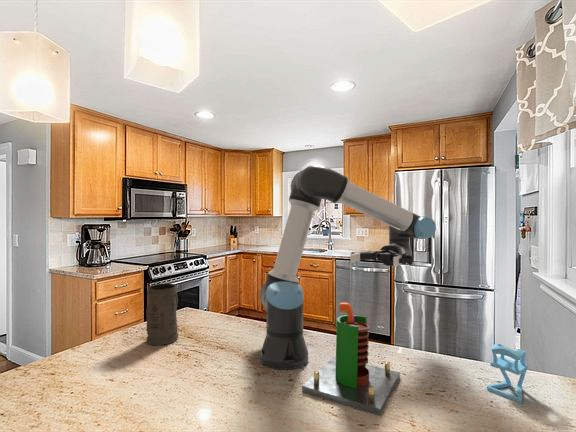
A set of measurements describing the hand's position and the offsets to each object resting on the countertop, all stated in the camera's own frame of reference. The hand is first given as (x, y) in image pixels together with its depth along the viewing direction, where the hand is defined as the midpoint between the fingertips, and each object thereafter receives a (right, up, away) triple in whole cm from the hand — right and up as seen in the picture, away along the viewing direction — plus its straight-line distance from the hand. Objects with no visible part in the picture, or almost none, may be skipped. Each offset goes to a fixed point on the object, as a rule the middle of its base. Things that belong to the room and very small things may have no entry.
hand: (372, 260), depth 100 cm
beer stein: (-72, -32, +20) cm, 81 cm away
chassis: (-8, -32, -13) cm, 35 cm away
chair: (+32, -32, -16) cm, 48 cm away
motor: (-9, -30, -13) cm, 34 cm away
